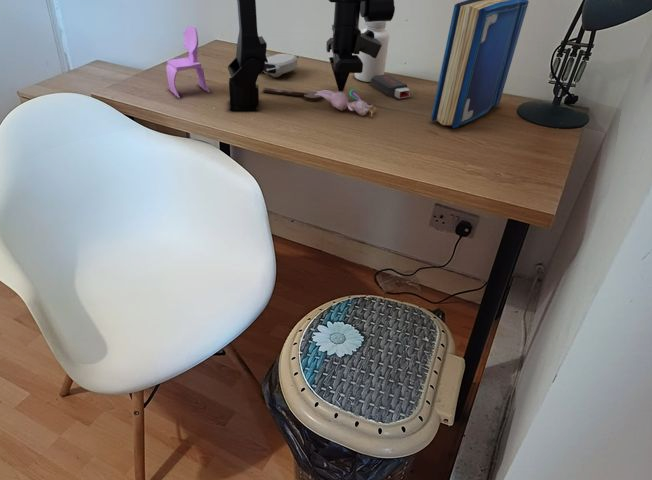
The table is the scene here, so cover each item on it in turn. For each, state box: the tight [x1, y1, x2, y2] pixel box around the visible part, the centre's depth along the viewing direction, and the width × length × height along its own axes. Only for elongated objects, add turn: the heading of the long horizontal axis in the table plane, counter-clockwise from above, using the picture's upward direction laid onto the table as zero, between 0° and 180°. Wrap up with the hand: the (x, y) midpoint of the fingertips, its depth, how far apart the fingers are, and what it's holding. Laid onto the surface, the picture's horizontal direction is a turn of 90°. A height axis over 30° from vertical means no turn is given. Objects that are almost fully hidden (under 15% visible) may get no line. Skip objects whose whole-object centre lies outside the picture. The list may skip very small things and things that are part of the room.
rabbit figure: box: [314, 87, 377, 117], centre depth 124 cm, size 6×6×15 cm
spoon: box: [262, 87, 322, 102], centre depth 133 cm, size 15×4×1 cm, turn 73°
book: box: [430, 0, 529, 129], centre depth 117 cm, size 22×7×25 cm, turn 134°
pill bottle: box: [354, 20, 390, 83], centre depth 139 cm, size 8×8×15 cm
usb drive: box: [370, 73, 411, 100], centre depth 136 cm, size 5×12×3 cm, turn 24°
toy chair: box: [165, 26, 210, 99], centre depth 129 cm, size 8×9×15 cm
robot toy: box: [262, 53, 303, 78], centre depth 146 cm, size 12×4×15 cm
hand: (340, 90), depth 130 cm, fingers closed
